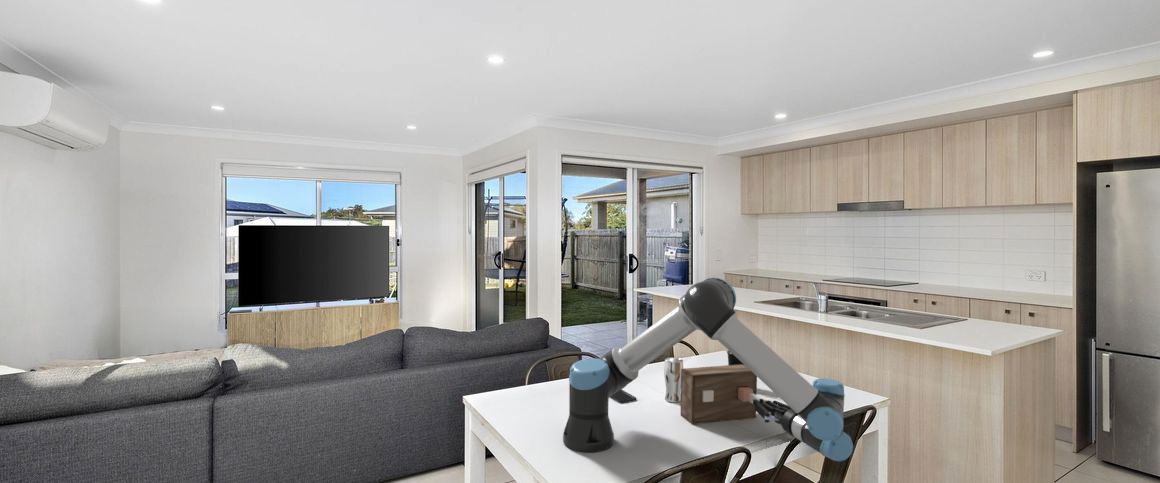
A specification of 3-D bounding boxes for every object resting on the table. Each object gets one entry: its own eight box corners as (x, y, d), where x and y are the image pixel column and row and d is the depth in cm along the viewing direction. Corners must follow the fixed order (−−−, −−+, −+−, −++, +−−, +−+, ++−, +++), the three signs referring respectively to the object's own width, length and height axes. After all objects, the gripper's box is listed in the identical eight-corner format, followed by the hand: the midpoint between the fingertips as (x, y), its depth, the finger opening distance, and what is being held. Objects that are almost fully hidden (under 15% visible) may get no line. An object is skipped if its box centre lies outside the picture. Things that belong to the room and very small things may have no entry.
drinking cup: (748, 385, 207) (749, 336, 206) (743, 390, 200) (744, 339, 199) (729, 381, 211) (730, 333, 210) (723, 386, 204) (724, 337, 204)
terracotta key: (752, 400, 168) (753, 389, 168) (743, 401, 167) (743, 390, 167) (742, 394, 173) (742, 384, 173) (733, 395, 172) (733, 385, 172)
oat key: (713, 401, 167) (713, 390, 167) (703, 402, 166) (703, 391, 166) (704, 395, 172) (704, 384, 172) (694, 396, 171) (695, 385, 171)
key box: (756, 417, 172) (757, 370, 172) (691, 424, 166) (692, 375, 165) (742, 409, 180) (743, 364, 179) (680, 415, 174) (681, 368, 173)
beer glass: (686, 399, 189) (687, 359, 188) (676, 404, 184) (676, 363, 183) (670, 395, 193) (671, 356, 193) (660, 400, 188) (660, 359, 188)
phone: (616, 386, 201) (637, 398, 188) (616, 389, 201) (637, 401, 188) (598, 389, 197) (619, 401, 184) (598, 392, 197) (619, 404, 184)
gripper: (781, 441, 142) (733, 410, 164) (820, 436, 145) (768, 407, 168) (781, 414, 141) (734, 387, 164) (821, 410, 145) (769, 384, 168)
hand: (751, 397), depth 166 cm, fingers closed
